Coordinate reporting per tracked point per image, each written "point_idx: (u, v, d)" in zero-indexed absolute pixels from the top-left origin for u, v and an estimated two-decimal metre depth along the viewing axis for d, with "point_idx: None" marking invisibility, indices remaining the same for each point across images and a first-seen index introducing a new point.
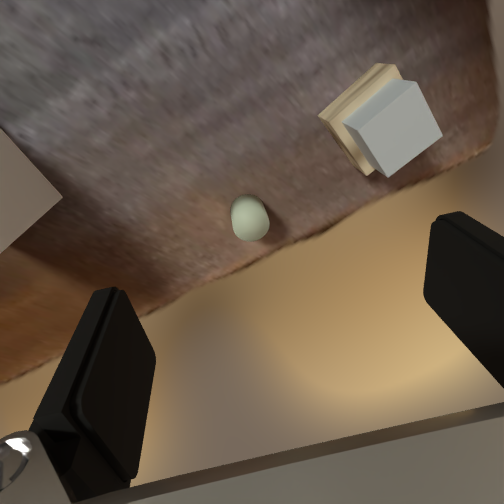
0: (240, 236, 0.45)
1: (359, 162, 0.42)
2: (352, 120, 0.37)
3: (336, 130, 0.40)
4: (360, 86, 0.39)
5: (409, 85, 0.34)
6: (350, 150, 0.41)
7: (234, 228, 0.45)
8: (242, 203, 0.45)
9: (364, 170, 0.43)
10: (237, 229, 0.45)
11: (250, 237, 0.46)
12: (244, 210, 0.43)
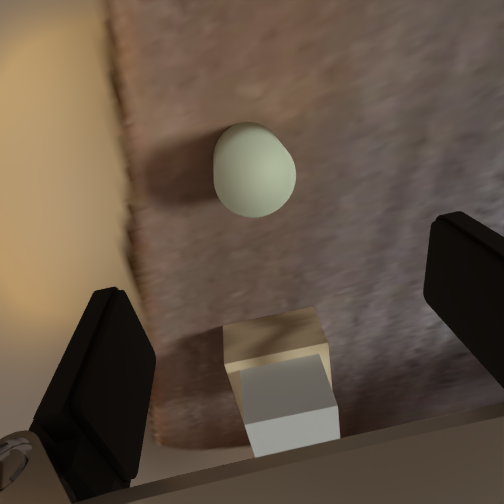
0: (244, 143, 0.19)
1: (250, 360, 0.28)
2: None
3: (312, 346, 0.28)
4: None
5: None
6: (274, 354, 0.28)
7: (270, 142, 0.19)
8: None
9: (234, 363, 0.28)
10: (265, 147, 0.19)
11: (228, 162, 0.19)
12: (293, 182, 0.20)
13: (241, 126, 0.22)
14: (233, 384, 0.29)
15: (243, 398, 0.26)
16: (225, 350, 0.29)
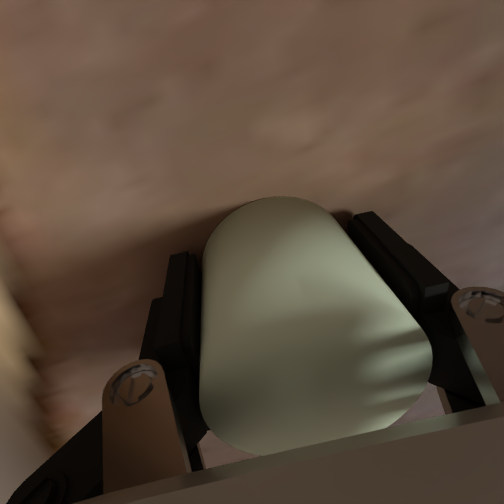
0: (296, 320, 0.06)
1: None
2: None
3: None
4: None
5: None
6: None
7: (376, 311, 0.06)
8: None
9: None
10: (358, 325, 0.06)
11: (244, 365, 0.06)
12: (418, 390, 0.07)
13: (269, 218, 0.09)
14: None
15: None
16: None
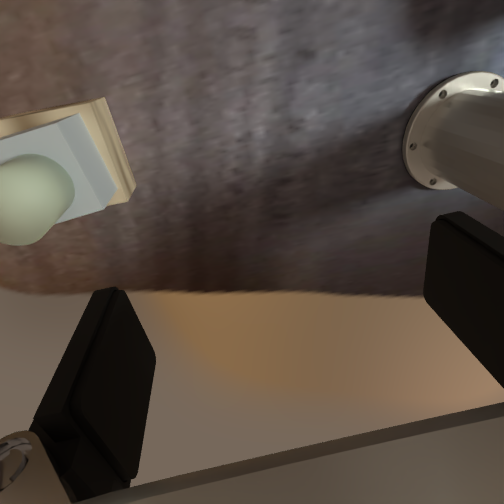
0: None
1: (11, 121, 0.28)
2: (76, 125, 0.27)
3: (74, 107, 0.28)
4: (119, 159, 0.32)
5: (101, 201, 0.27)
6: (35, 115, 0.28)
7: (10, 180, 0.21)
8: (61, 203, 0.24)
9: None
10: (6, 184, 0.21)
11: None
12: (47, 215, 0.22)
13: (13, 159, 0.23)
14: None
15: None
16: None
